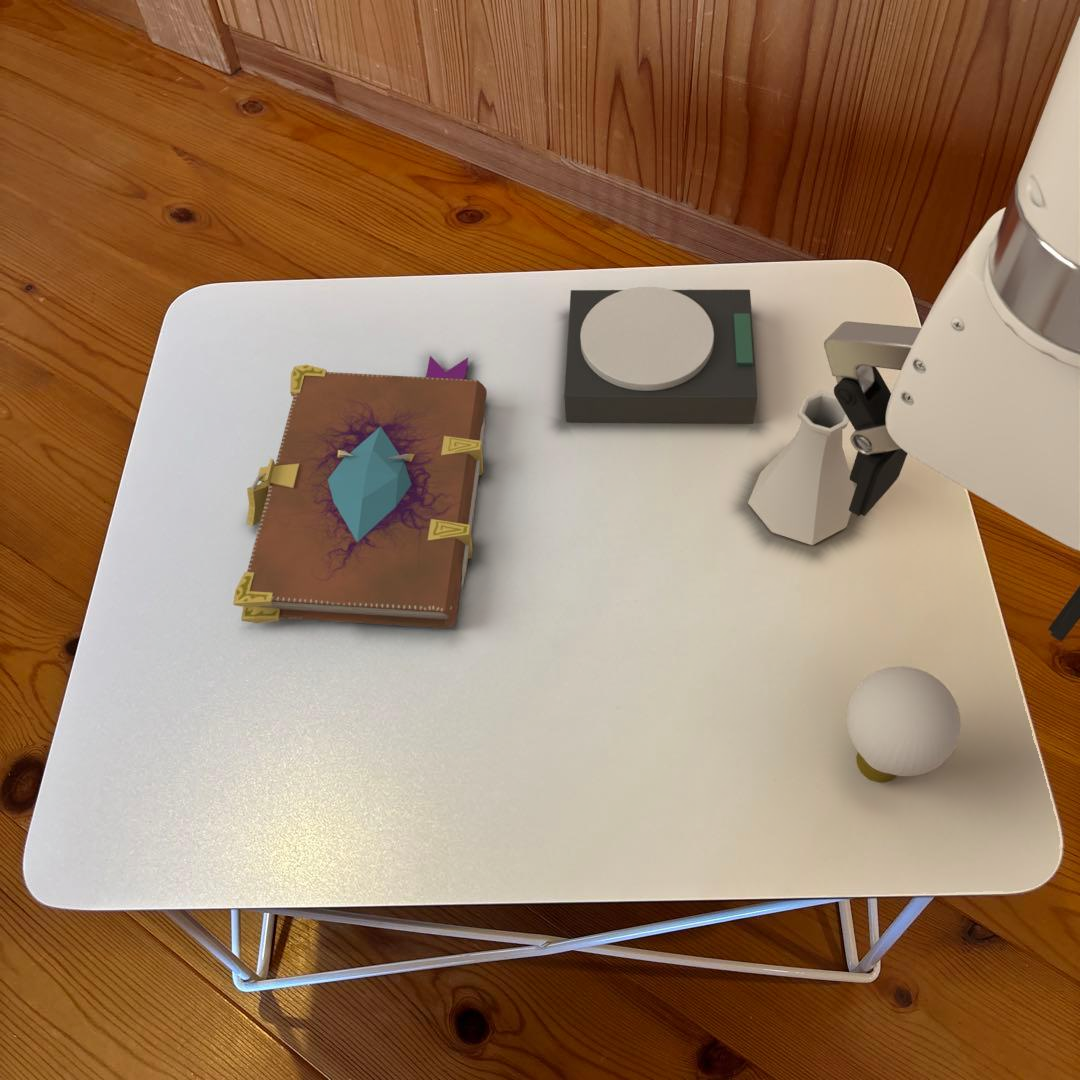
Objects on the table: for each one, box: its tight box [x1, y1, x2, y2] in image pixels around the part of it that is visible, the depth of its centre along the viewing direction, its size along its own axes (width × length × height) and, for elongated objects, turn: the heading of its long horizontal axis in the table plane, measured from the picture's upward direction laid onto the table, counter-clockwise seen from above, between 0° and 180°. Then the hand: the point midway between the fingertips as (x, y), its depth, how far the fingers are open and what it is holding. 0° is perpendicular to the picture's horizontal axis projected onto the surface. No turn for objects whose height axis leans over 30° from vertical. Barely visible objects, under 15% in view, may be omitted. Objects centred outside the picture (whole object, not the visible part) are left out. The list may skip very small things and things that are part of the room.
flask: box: [747, 390, 856, 546], centre depth 69 cm, size 7×7×10 cm
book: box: [232, 355, 488, 629], centre depth 75 cm, size 16×25×5 cm, turn 176°
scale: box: [563, 286, 758, 424], centre depth 79 cm, size 14×11×4 cm
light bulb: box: [846, 666, 962, 784], centre depth 59 cm, size 6×6×10 cm
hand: (967, 552), depth 46 cm, fingers open, 9 cm apart
